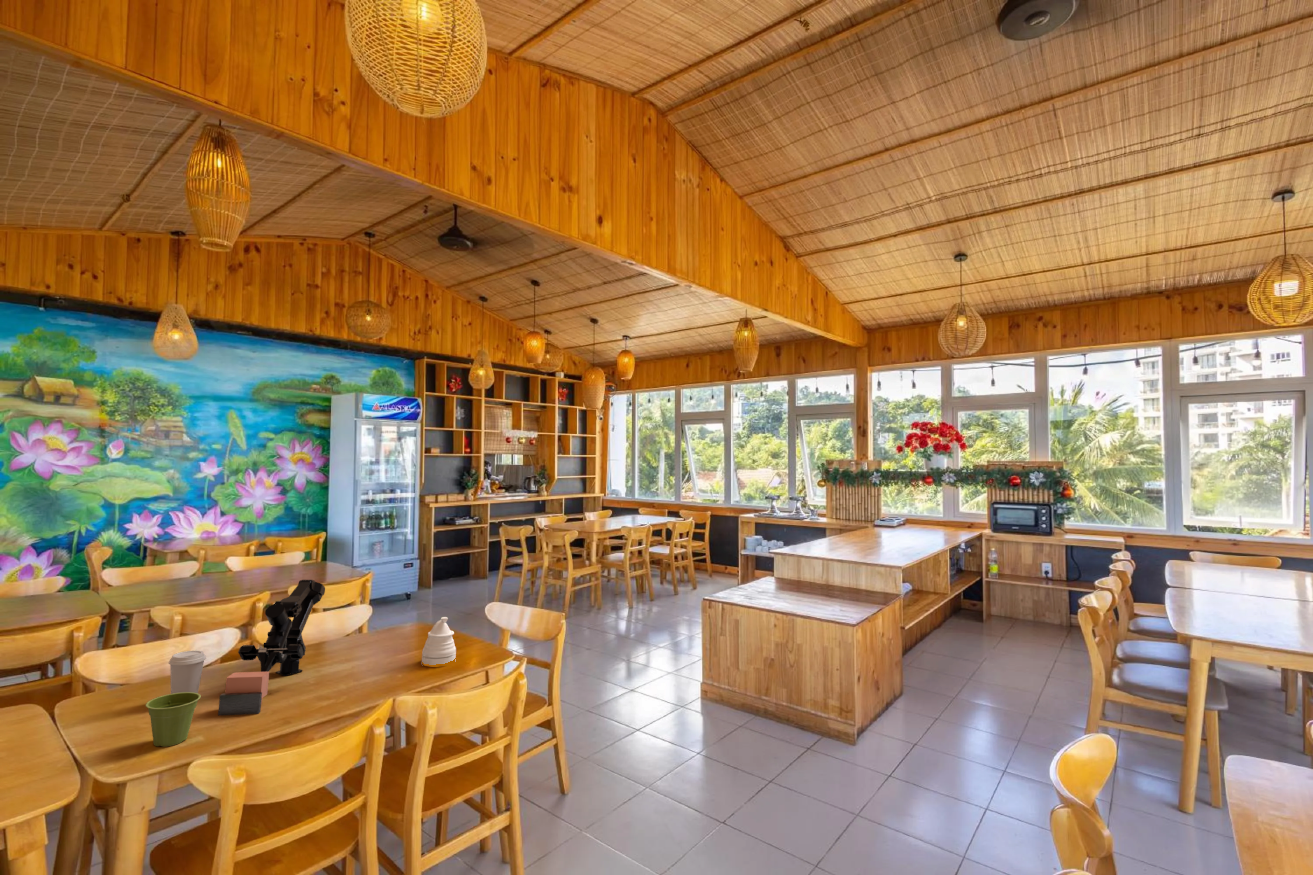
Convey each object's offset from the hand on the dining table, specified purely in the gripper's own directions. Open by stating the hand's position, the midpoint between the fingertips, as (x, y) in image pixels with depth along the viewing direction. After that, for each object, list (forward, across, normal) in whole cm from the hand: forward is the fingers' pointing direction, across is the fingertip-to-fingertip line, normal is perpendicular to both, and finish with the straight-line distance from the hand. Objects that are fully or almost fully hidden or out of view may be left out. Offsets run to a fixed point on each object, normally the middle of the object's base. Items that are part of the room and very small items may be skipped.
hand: (262, 675), depth 199 cm
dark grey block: (+11, 0, +2) cm, 11 cm away
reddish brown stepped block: (+12, 0, +4) cm, 13 cm away
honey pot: (-17, -52, -27) cm, 61 cm away
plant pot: (+28, +9, +20) cm, 36 cm away
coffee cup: (+7, +21, -2) cm, 22 cm away
